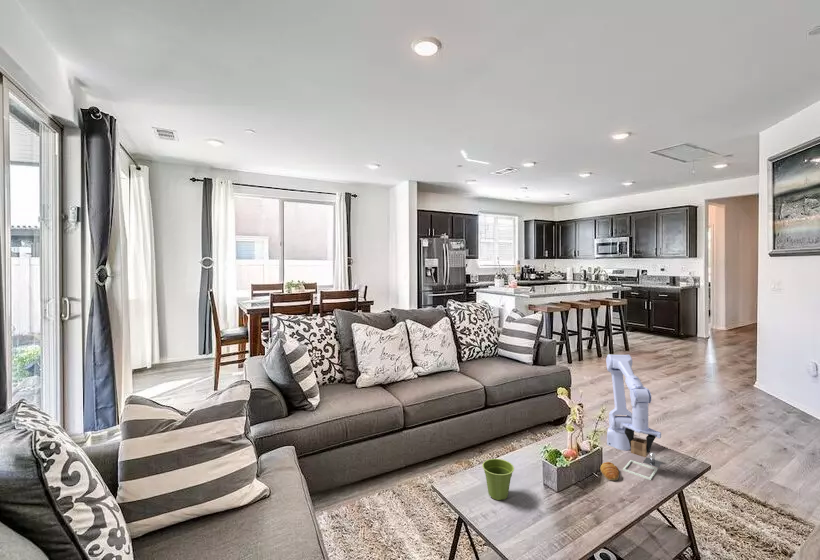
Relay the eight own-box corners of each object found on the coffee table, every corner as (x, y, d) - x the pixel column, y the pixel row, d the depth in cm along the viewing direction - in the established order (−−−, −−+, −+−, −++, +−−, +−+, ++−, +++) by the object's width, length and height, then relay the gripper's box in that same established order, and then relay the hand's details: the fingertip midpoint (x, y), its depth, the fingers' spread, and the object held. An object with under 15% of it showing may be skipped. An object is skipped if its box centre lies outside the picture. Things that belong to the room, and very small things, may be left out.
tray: (622, 472, 159) (622, 469, 159) (630, 463, 166) (630, 459, 166) (650, 482, 151) (650, 478, 151) (657, 472, 159) (657, 468, 158)
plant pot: (515, 506, 139) (515, 476, 138) (482, 502, 141) (482, 473, 141) (513, 487, 151) (513, 459, 150) (482, 484, 153) (482, 457, 152)
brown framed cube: (634, 448, 162) (634, 436, 162) (649, 452, 158) (649, 440, 158) (630, 452, 158) (630, 441, 158) (645, 457, 154) (645, 445, 154)
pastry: (622, 483, 152) (622, 473, 152) (604, 481, 154) (604, 472, 153) (616, 470, 161) (616, 461, 161) (599, 468, 163) (598, 460, 163)
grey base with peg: (642, 464, 165) (642, 453, 164) (646, 459, 169) (646, 448, 169) (658, 469, 160) (658, 458, 160) (662, 464, 164) (662, 453, 164)
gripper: (617, 415, 160) (617, 447, 161) (658, 425, 150) (657, 459, 150) (623, 410, 165) (623, 441, 166) (662, 420, 155) (662, 452, 155)
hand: (640, 449), depth 158 cm, fingers closed on brown framed cube, 5 cm apart
